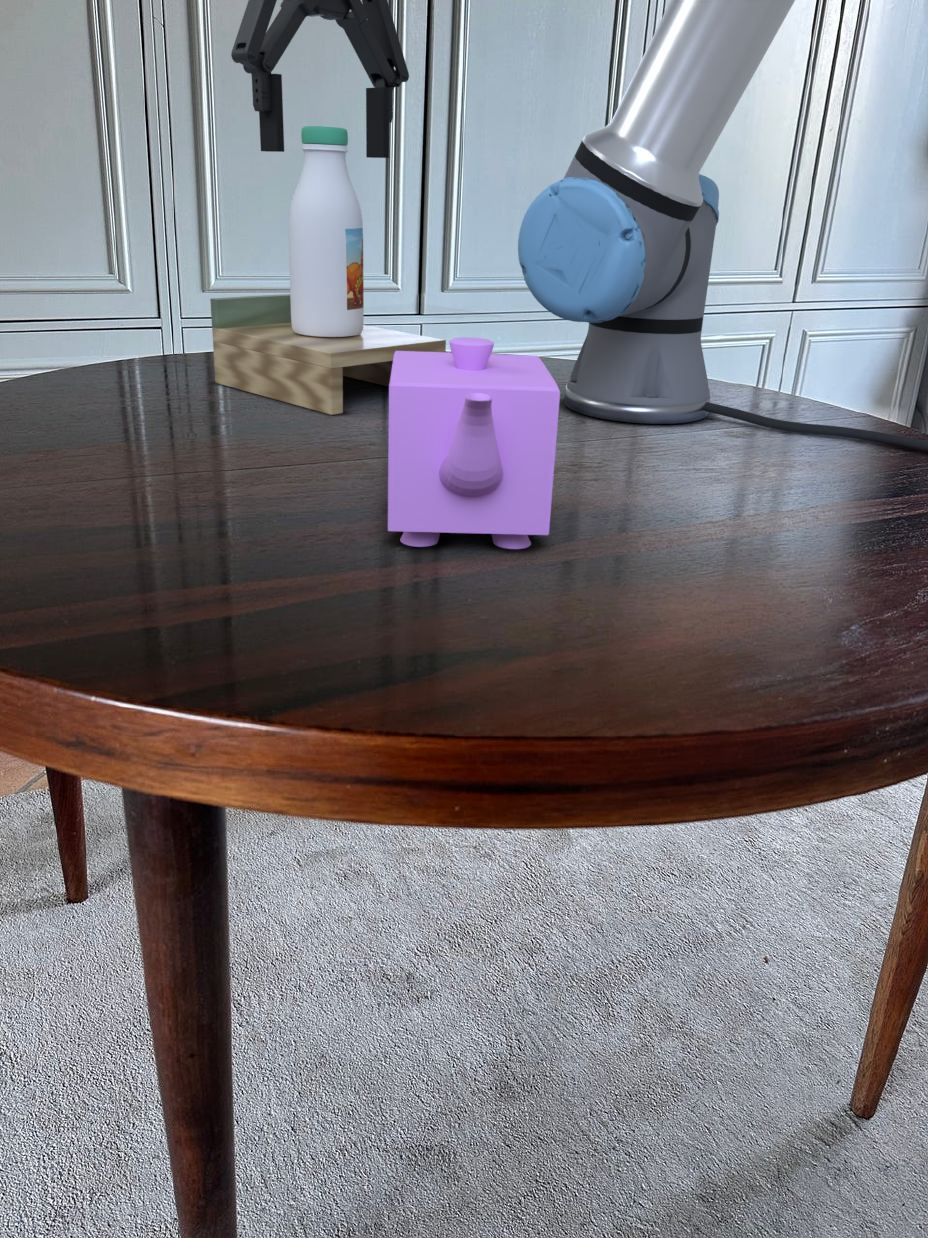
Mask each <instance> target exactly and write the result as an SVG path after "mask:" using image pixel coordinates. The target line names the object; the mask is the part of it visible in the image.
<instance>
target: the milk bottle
mask: <svg viewBox="0 0 928 1238" xmlns="http://www.w3.org/2000/svg"><path fill="white" fill-rule="evenodd" d="M300 133H301V134H300V135H301V136H300V139H301V144H302V147H301V150H302V151H303V154H304V159H303V165H302V168H301V173H300V176H299V180H298V183H297V185H296V188H295V190H294V192H293V196H292V198H291V203H290V206H289V215H288V259H289V262H288V263H289V265H288V266H289V294H290V300H291V325H292V329H293V331H294V332H295V333H298V334H302V335H308V336H316V337H318V336H319V337H346V336H354V335H359V334H361V333H362V331H363V325H364V316H365V315H364V313H365V312H364V305H365V304H364V302H365V301H364V293H365V292H364V227H363V226H364V225H363V224H364V223H363V215H362V209H361V205H360V200H359V198H358V196H357V193H356V191H355V189H354V188H355V187H354V186H353V183H352V181H351V177H350V174H349V169H348V167H347V161H346V154H347V153H348V152H349V150H348V143H349V136H348V130H347V129H346V128H344V127H336V126H321V125H319V126H318V125H316V126H315V125H314V126H313V125H309V126H303V127H302V128H301V131H300Z"/></svg>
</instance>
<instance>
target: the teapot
mask: <svg viewBox="0 0 928 1238" xmlns="http://www.w3.org/2000/svg"><path fill="white" fill-rule="evenodd" d="M448 343H449V349H450V351H451V352H448V351H447V352H417V351H395V353H394V358H393V364H392V370H391V377H390V383H389V387H388V453H387V454H388V458H387V459H388V463H387V464H388V465H387V469H388V470H387V483H388V484H387V532H401V533H402V532H403V533H402V535H401V536H400V539H399V540H400V543H402V544H403V545H406V546H408V547H409V546H410V547H417V548H425V547H431V546H435V545H437V544H438V543H439V539H440V536H441V533H442V534H443V533H446V534H447V533H449V534H481V535H482V534H483V535H484V534H485V535H486V534H489V535H491V538H492V543H493V544H494V545H495V546H497V547H499V548H502V549H508V550H522V549H527V548H529V547H530V546H531V545H532V542H531V539H530V538H529V536H549V535H550V525H551V515H552V514H551V512H552V499H553V487H554V477H555V476H554V475H555V474H554V473H555V463H556V449H557V438H558V437H557V436H558V423H559V412H560V398H561V391H560V389H559V386H558V383H557V382H556V381H555V379H554V378H553V376H552V374H551V373H550V371H549V370H548V368H547V366H546V365H545V364H544V362H543V361H542V359H541V358H540V357H539V356H538V355H535V354H533V355H528V354H505V353H504V354H503V353H492V352H493V350H494V345H495V342H493V341H492V340H490V339H487V338H481V337H473V336H472V337H471V336H469V337H467V336H465V337H464V336H463V337H454V338H452V339H450V340H449V341H448Z"/></svg>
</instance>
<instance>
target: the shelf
mask: <svg viewBox="0 0 928 1238" xmlns="http://www.w3.org/2000/svg"><path fill="white" fill-rule="evenodd" d="M209 301H210V316H211V317H210V318H211V331H212V332H211V333H212V349H213V364H214V365H213V367H214V381H215V382H214V383H215V384H218V385H221V386H226V387H229V388H231V389H232V388H233V389H237V390H238V391H239V390H240V391H243V392H248V393H249V394H250V393H251V394H254V395H258V396H262V397H264V398H268V399H272V400H276V401H279V402H283V403H287V404H290V405H293V406H294V405H295V406H298V407H301V408H304V409H309V410H311V411H314V412H315V411H316V412H320V413H323V414H325V415H326V414H327V415H330V416H333V415H340V414H343V413H344V387H343V386H344V382H343V381H344V377H347V378H349V379H355V380H358V381H363V382H368V383H370V384H371V383H372V384H375V385H379V386H384V387H388V388H389V383H390V377H391V370H392V364H393V358H394V353H395V351H417V352H446V349H447V347H446V346H447V340H446V339H443V338H437V337H433V336H432V337H431V336H426V335H420V334H416V333H410V332H404V331H399V330H394V329H387V328H382V327H378V326H373V325H366V324H363V331H362V333H361V334H359V335H354V336H346V337H319V336H318V337H316V336H308V335H302V334H298V333H295V332H294V331H293V329H292V325H291V300H290V293H282V294H281V293H279V294H264V295H247V296H230V297H229V296H227V297H217V298H216V297H212V298H209Z"/></svg>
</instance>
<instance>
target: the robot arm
mask: <svg viewBox="0 0 928 1238" xmlns="http://www.w3.org/2000/svg"><path fill="white" fill-rule="evenodd" d="M277 1H278V0H248V1H247V5H246V7H245V10H244V13H243V16H242V19H241V22H240V25H239V27H238V28H239V29H238V31H237V35H236V37H235V40H234V43H233V47H232V49H231V54H230V56H231V60H232V61H233V62H234V63H235V64H241V65H242V67H243V70H244V72H245V73H246V74H250V75H251V91H252V106H253V110H254V112H258V117H259V118H258V119H259V141H260V152H265V153H267V152H271V153H272V152H277V153H280V152H281V153H284V152H285V131H284V107H283V106H284V104H283V102H284V101H283V99H284V98H283V76H282V75H283V74H281V73H272V72H273V71H274V69H275V67H276V66H277V65H278V63H279V61H280V59H281V58H282V57H283V55H284V53H285V51H286V50H287V48H288V47H289V46H290V44H291V42H292V40H293V38H294V37H295V35H296V34H297V33H298V31H299V29H300V27H301V26H302V24H303V23H304V21H305V19H306V18H307V17H311V18H313V17H320V18H322V19H323V20H326V21H335V22H336V24H337V25H338V26H339V28H341V29H342V30H343V31H344V33H345V35H346V36H347V38H348V41H349V42H350V44H351V47H352V48H353V51H354V52H355V53H356V56H357V57H358V60H359V62H360V64H361V65H362V67H363V69H364V71H365V73H366V75H367V77H368V79H369V81H370V82H371V85H372V86H373V87H366V88H365V119H366V120H365V133H366V134H365V137H366V138H365V140H366V142H365V144H366V145H365V148H366V149H365V152H366V153H365V155H366V158H372V159H390V124H391V123H392V122H393V120H394V119H393V118H394V89H395V88H399V87H401V85H402V83H407V82H408V81H409V79H410V73H409V70H408V69H409V68H408V66H407V63H406V59H405V56H404V53H403V49H402V46H401V42H400V39H399V35H398V32H397V28H396V25H395V22H394V19H393V15H392V12H391V8H390V4H389V1H388V0H282V2H281V3H280V9H279V11H278V13H277V14H276V16H275V18H274V19H273V20H272V22H271V19H272V16H273V13H274V10H275V7H276V4H277ZM795 1H796V0H670V1H669V4H668V5H667V7H666V9H665V11H664V13H663V15H662V18H661V19H660V21H659V23H658V25H657V27H656V29H655V31H654V34H653V36H652V38H651V40H650V42H649V43H648V46H647V47H646V50H645V52H644V54H643V56H642V57H641V60H640V62H639V64H638V66H637V67H636V70H635V72H634V73H633V76H632V78H631V80H630V82H629V84H628V86H627V89H626V90H625V92H624V94H623V96H622V98H621V101H620V102H619V104H618V107H617V109H615V110H616V111H615V113H614V115H613V117H612V119H611V121H610V122H609V123H608V124H606V125H605V126H604V127H602V128H598V129H595V130H594V131H591V132H589V133H586V134H584V135H583V138H582V140H581V141H580V143H579V146H578V148H577V150H576V152H575V154H573V155H574V156H573V158H572V160H571V162H570V164H569V167H568V168H567V170H566V172H565V174H564V176H563V178H562V179H560V180H558V181H556V182H554V183H552V184H550V185H548V186H547V187H546V188H545V189H544V190H542V191H541V192H540V193H539V194H538V195H536V196H535V198H534V199H533V200H532V201H531V202H530V205H529V206H528V208H527V209H526V211H525V214H524V216H523V218H522V221H521V224H520V227H519V232H518V239H517V255H518V262H519V266H520V268H521V272H522V275H523V280H524V283H525V284H526V286H527V288H528V290H529V292H530V293H531V294H532V296H533V297H534V299H535V300H536V302H538V303H539V305H541V306H542V307H543V308H544V309H545V310H547V311H548V312H549V313H551V314H552V315H554V316H556V317H558V318H560V319H562V320H566V321H569V322H577V323H588V326H587V327H588V328H587V333H586V336H585V339H584V342H583V344H582V345H581V349H580V351H579V354H578V355H577V358H576V360H575V364H574V365H573V369H572V371H571V373H570V377H569V378H568V381H567V383H566V385H565V394H564V396H565V397H564V405H565V406H566V407H567V408H568V409H570V410H572V411H574V412H576V413H579V414H582V415H586V416H588V417H592V418H593V417H594V418H598V419H601V420H608V421H616V422H623V423H633V424H634V423H635V424H651V425H652V424H653V425H659V424H660V425H661V424H662V425H663V424H667V425H668V424H669V425H671V424H683V423H684V424H685V423H691V422H696V421H700V420H702V419H703V420H704V419H705V418H707V416H708V415H709V413H711V414H714V415H718V416H722V417H723V416H724V417H727V418H730V419H735V420H739V421H743V422H746V423H750V424H753V425H756V426H760V427H764V428H768V429H774V430H778V431H785V432H791V433H792V432H793V433H800V434H809V435H820V436H832V437H839V438H848V439H854V440H855V439H856V440H861V441H867V442H874V443H880V444H884V445H891V446H894V447H895V446H896V447H901V448H905V449H911V450H917V451H921V452H927V453H928V440H923V439H919V438H913V437H907V436H903V435H897V434H893V433H892V434H891V433H886V432H880V431H873V430H869V429H868V430H867V429H862V428H855V427H846V426H838V425H837V426H836V425H829V424H828V425H827V424H817V423H816V424H815V423H805V422H795V421H789V420H783V419H778V418H772V417H768V416H764V415H759V414H756V413H753V412H750V411H746V410H743V409H738V408H734V407H730V406H725V405H721V404H718V403H713V402H711V392H710V387H709V381H708V374H707V368H706V363H705V358H704V351H703V345H702V331H703V324H704V316H705V309H706V302H707V295H708V288H709V282H710V281H709V280H710V272H711V265H712V259H713V251H714V244H715V237H716V230H717V225H718V223H719V220H720V211H719V202H720V201H719V200H720V191H719V187H718V185H717V183H716V182H715V181H714V180H713V179H712V178H710V177H709V176H706V175H704V174H701V173H700V172H701V170H702V168H703V167H704V165H705V163H706V162H707V159H708V158H709V156H710V154H711V152H712V150H713V148H714V147H715V145H716V143H717V141H718V139H719V138H720V136H721V135H722V132H723V131H724V129H725V127H726V125H727V123H728V122H729V120H730V118H731V116H732V114H733V112H734V111H735V109H736V107H737V106H738V104H739V102H740V100H741V99H742V97H743V95H744V93H745V91H746V90H747V88H748V87H749V84H750V82H751V80H753V79H752V78H753V77H754V75H755V73H756V72H757V70H758V68H759V66H760V64H761V62H762V61H763V59H764V57H765V55H766V54H767V51H769V49H770V46H771V44H772V43H773V41H774V39H775V37H776V36H777V34H778V32H779V30H780V28H781V27H782V25H783V23H784V21H785V19H786V17H787V16H788V14H789V12H790V11H791V9H792V7H793V5H794V3H795ZM270 22H271V24H270ZM269 25H270V26H269Z"/></svg>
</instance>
